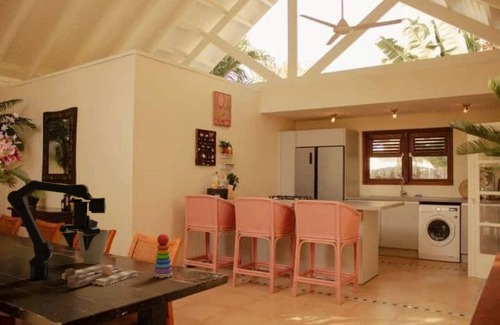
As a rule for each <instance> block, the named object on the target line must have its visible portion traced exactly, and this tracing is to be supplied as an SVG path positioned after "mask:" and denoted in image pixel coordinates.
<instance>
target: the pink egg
mask: <svg viewBox="0 0 500 325" xmlns="http://www.w3.org/2000/svg"><path fill="white" fill-rule="evenodd" d="M101 266H102V272H101V275H112V269H113V268H114V266H113V265H112V264H103V265H101Z"/></svg>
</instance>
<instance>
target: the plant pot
mask: <svg viewBox="0 0 500 325" xmlns="http://www.w3.org/2000/svg"><path fill="white" fill-rule="evenodd" d="M109 232H110V231H109V230H108V229H100V234H98V235H96V236H95V237H94V238H93V239H92V241H91V244H90V246H89V249H88V250H87V251H86V250H85V246H84V240H83V235H85V234H84V233H83V232H79V231H76V234H77V241H78V246H79V249H80V254H81V257H82V260H83V262H84V264H86V265H96V264H100V263H101V261H102V258H103V255H104V252H105V250H106V246H107V243H108V238H109Z"/></svg>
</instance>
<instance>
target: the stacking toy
mask: <svg viewBox="0 0 500 325" xmlns="http://www.w3.org/2000/svg"><path fill="white" fill-rule="evenodd" d="M156 241H157V243H158V245H157V246H156V247H157V251H156V255H155V258H156V259H155V264H154V266H155V268H154V274H153V276H154V277H155V278H157V277H159V279H165V278H164V277H168V278H170V276H171V277H172V275H173V272H172V271H173V268H172V264H171V258H170V256H171V255H170V249H169V246H170V245H169V244H168V243H169V241H170V237H169V236H168V235H167V234H166V233H162V234H161V233H160V234H159V235H158V236H157V238H156Z"/></svg>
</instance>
